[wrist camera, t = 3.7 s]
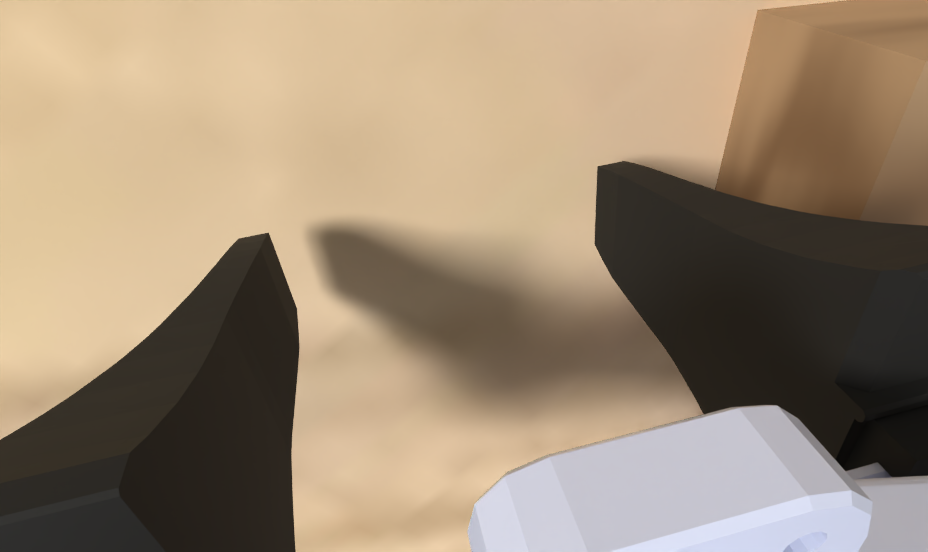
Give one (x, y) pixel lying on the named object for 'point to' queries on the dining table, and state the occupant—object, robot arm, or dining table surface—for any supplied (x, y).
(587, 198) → the dining table surface
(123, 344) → the dining table surface
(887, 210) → the walnut block
